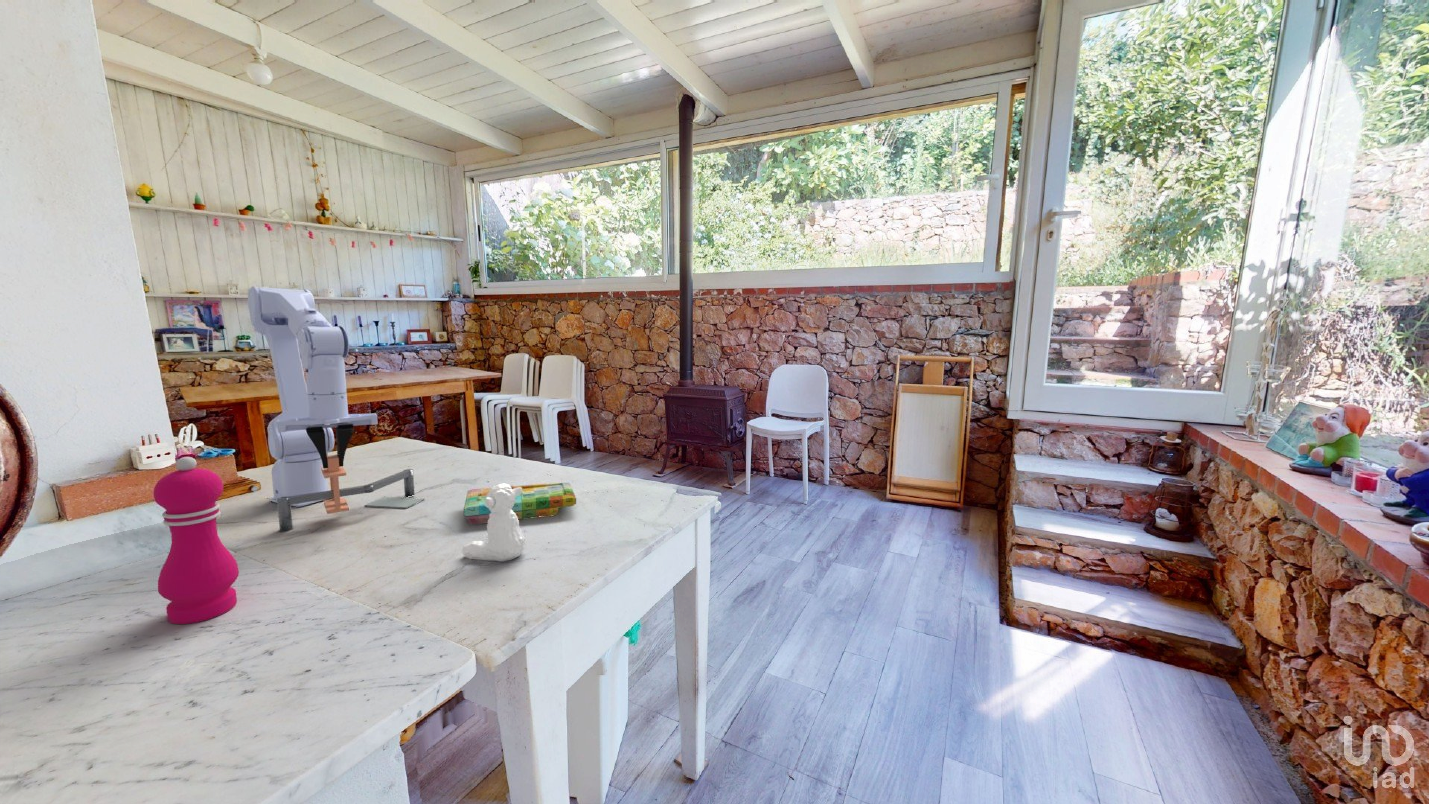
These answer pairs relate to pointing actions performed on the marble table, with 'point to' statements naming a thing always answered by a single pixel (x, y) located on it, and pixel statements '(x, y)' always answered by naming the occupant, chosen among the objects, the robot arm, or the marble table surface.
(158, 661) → the marble table surface
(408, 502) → the pad
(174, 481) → the pepper mill
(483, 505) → the puzzle game
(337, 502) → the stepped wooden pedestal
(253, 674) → the marble table surface
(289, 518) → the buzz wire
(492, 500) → the sitting furry creature
